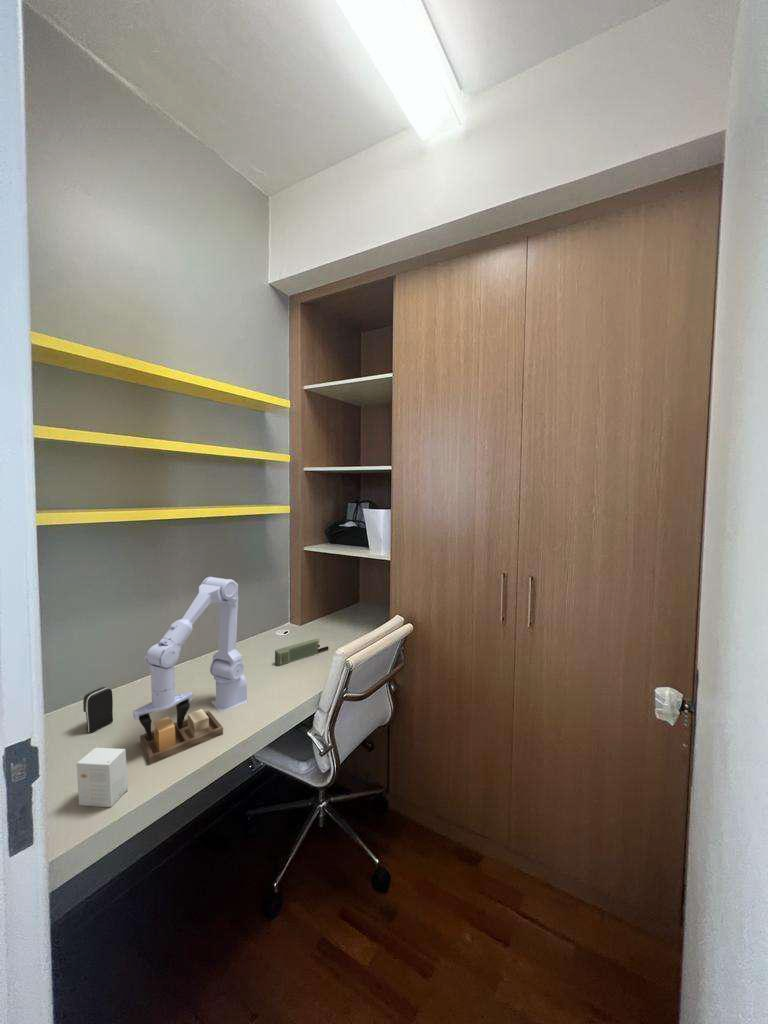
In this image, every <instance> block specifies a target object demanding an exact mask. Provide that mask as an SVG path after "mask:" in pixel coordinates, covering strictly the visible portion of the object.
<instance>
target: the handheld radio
mask: <svg viewBox="0 0 768 1024" xmlns="http://www.w3.org/2000/svg"><path fill="white" fill-rule="evenodd" d="M319 643H320V638H319V637H317V638H313V639H311V640H306V641H303V642H302V641H301V642H300V643H297V644H295V643H294V644H291V645H289V646H286V647H281V648H278V649H274V665H275V666H276V667H280V666H283V665H287V664H290V663H293V662H297V661H300V660H303V659H306V658H309V657H313V656H316V655H318V654H319V652H323V651H326V650H329V646H328V645H327V646H323V647H321V644H319ZM320 647H321V648H320ZM315 654H316V655H315Z"/></svg>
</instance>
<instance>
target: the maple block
mask: <svg viewBox="0 0 768 1024" xmlns="http://www.w3.org/2000/svg"><path fill="white" fill-rule="evenodd" d="M187 718H188V730H189V732H190V733H191V735H192V736H193V738H194V737H196V736H199V735H201V734H204V733H206V732H208V731H209V717H208V716H207V715H206V713H205V710H203V708H200V709H198V710H195V711H192V712H189V713H187Z"/></svg>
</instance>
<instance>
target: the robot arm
mask: <svg viewBox="0 0 768 1024" xmlns="http://www.w3.org/2000/svg"><path fill="white" fill-rule="evenodd" d="M238 593H239V584H238V583H237V582H236V581H235V580H234V579H231V578H227V579H226V578H221V577H214V576H208V577H206V578H205V579H203V581H202V583H201V584H200V585H199V586H198V594H197V595H196V597H195V598H194V599H193V601H192V603H191V604H190V606H189V608H187V610H186V612H185V613H184V615H183V617H182V618H181V619H178V620H175V621H174V622H172V623H171V625H170V627H169V628H168V630H167V631H166V632H165V634H164V635H163V636H162V638H161V639H160V640H159V642H158V643H156V644H154V645H152V646H151V647H150V648H148V650H147V652H146V656H145V657H144V661H145V662H146V664H147V665H149V666H148V667H149V670H150V683H151V687H150V688H151V702H149V703H146V704H145V705H143V706H140V707H139V708H138V707H137V708H136V709H133V710H132V717H133V720H134V721H136V720H138V721H139V722H140V724H141V726H142V728H144V731H145V734H147V739H148V741H151V740H152V735H151V731H152V718H151V715H150V714H153V713H156V712H160V711H164V710H169V709H171V708H173V707H174V706H176V722H177V727H178V728H179V730H180V729H182V725H183V721H184V719H186V715H187V714H188V711H189V710H190V706H191V705H190V702H192V701H193V692H191V691H187V692H183V693H182V692H181V693H177V694H176V681H175V679H176V675H175V664H176V663H177V662H178V660H179V657H180V653H181V651H182V647H183V646H184V643H185V642H186V641H187V639H188V638H189V637H190V636H191V634H192V632H193V629H194V628H193V625H194V623H195V622H196V621H197V620H198V619H199V617H200V616H201V615H202V614H203V613H204V612H205V610H206V609H207V607H208V606H209V605H213V604H215V603H218V604H219V605H220V613H219V614H220V615H219V618H220V619H219V634H218V635H219V637H218V651H216V652H215V653H214V654H213V655H212V660H211V663H210V667H209V672H210V674H211V675H212V676H213V680H215V699H214V700H212V701H211V703H212V705H213V706H214V707H215V709H217V710H218V712H220V713H222V712H225V711H227V710H229V709H232V708H234V707H237V706H239V705H243V704H245V703H247V702H248V689H247V688H248V685H247V684H248V683H247V679H246V676H245V674H244V669H245V666H244V662H243V656H242V653H240V652H239V650H237V635H238V633H237V632H238V613H239V612H238V611H239V594H238Z"/></svg>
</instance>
